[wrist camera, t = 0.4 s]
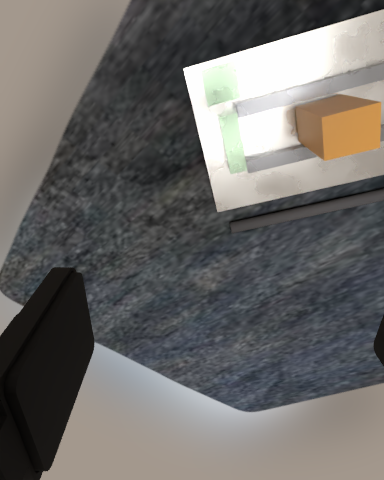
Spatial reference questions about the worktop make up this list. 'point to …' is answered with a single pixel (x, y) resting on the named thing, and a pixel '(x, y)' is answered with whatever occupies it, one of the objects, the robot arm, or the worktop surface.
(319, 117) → the lever
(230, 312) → the worktop surface
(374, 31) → the panel
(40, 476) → the robot arm
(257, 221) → the cord
